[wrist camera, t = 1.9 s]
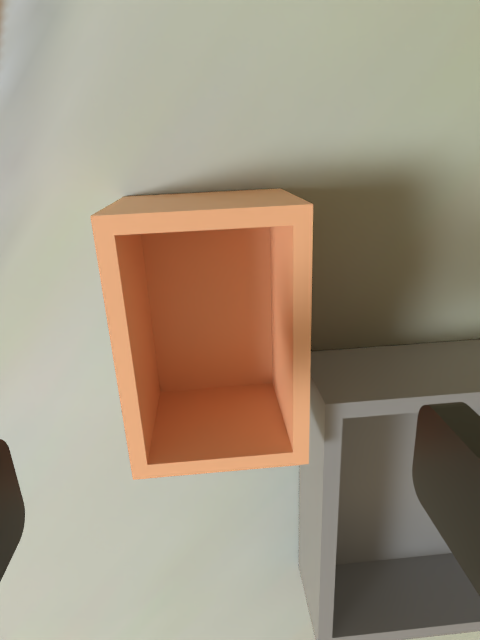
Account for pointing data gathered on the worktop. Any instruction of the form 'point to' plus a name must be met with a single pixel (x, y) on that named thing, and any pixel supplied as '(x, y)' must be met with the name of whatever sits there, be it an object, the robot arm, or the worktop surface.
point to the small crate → (210, 327)
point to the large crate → (380, 495)
